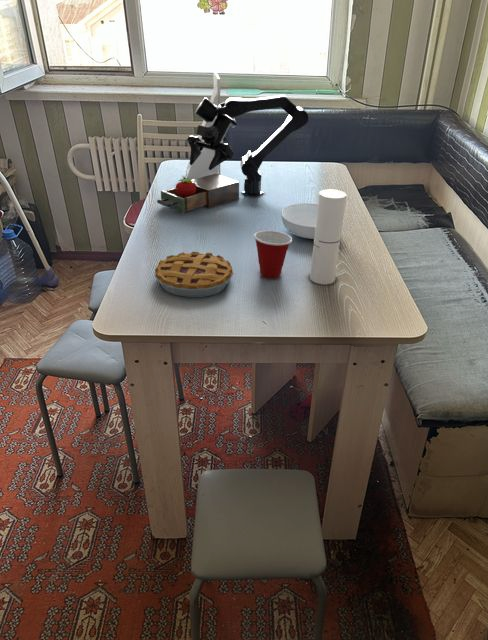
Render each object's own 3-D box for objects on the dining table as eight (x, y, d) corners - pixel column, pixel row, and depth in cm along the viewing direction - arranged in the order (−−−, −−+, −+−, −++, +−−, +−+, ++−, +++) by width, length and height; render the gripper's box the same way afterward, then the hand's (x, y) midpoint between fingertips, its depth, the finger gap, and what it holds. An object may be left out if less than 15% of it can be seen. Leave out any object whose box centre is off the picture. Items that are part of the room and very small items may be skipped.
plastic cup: (297, 275, 154) (300, 236, 148) (272, 286, 148) (274, 247, 141) (269, 262, 160) (271, 225, 153) (244, 273, 154) (245, 234, 147)
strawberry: (176, 199, 197) (175, 172, 191) (197, 199, 198) (196, 172, 192) (175, 204, 192) (174, 177, 187) (196, 205, 193) (195, 177, 187)
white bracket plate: (183, 172, 230) (179, 69, 207) (216, 172, 232) (216, 70, 209) (185, 187, 214) (180, 77, 191) (220, 187, 216) (220, 78, 193)
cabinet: (208, 208, 196) (208, 190, 192) (185, 199, 203) (184, 181, 199) (238, 198, 206) (239, 181, 202) (215, 190, 213) (215, 173, 209)
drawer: (173, 216, 186) (173, 202, 183) (152, 207, 192) (151, 193, 189) (214, 203, 198) (214, 190, 195) (192, 195, 204) (192, 182, 201)
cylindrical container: (327, 286, 149) (339, 200, 135) (305, 279, 152) (314, 194, 138) (338, 277, 154) (350, 193, 140) (317, 270, 157) (326, 187, 143)
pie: (163, 262, 157) (162, 246, 155) (236, 266, 157) (236, 250, 155) (147, 298, 140) (146, 281, 137) (230, 302, 140) (230, 285, 137)
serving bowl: (267, 232, 180) (268, 212, 176) (305, 217, 193) (307, 199, 189) (315, 251, 168) (317, 231, 164) (352, 234, 181) (355, 215, 177)
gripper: (188, 111, 192) (169, 149, 191) (229, 120, 184) (208, 159, 182) (203, 131, 202) (185, 166, 201) (242, 140, 194) (223, 177, 192)
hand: (199, 166), depth 194 cm, fingers open, 9 cm apart
